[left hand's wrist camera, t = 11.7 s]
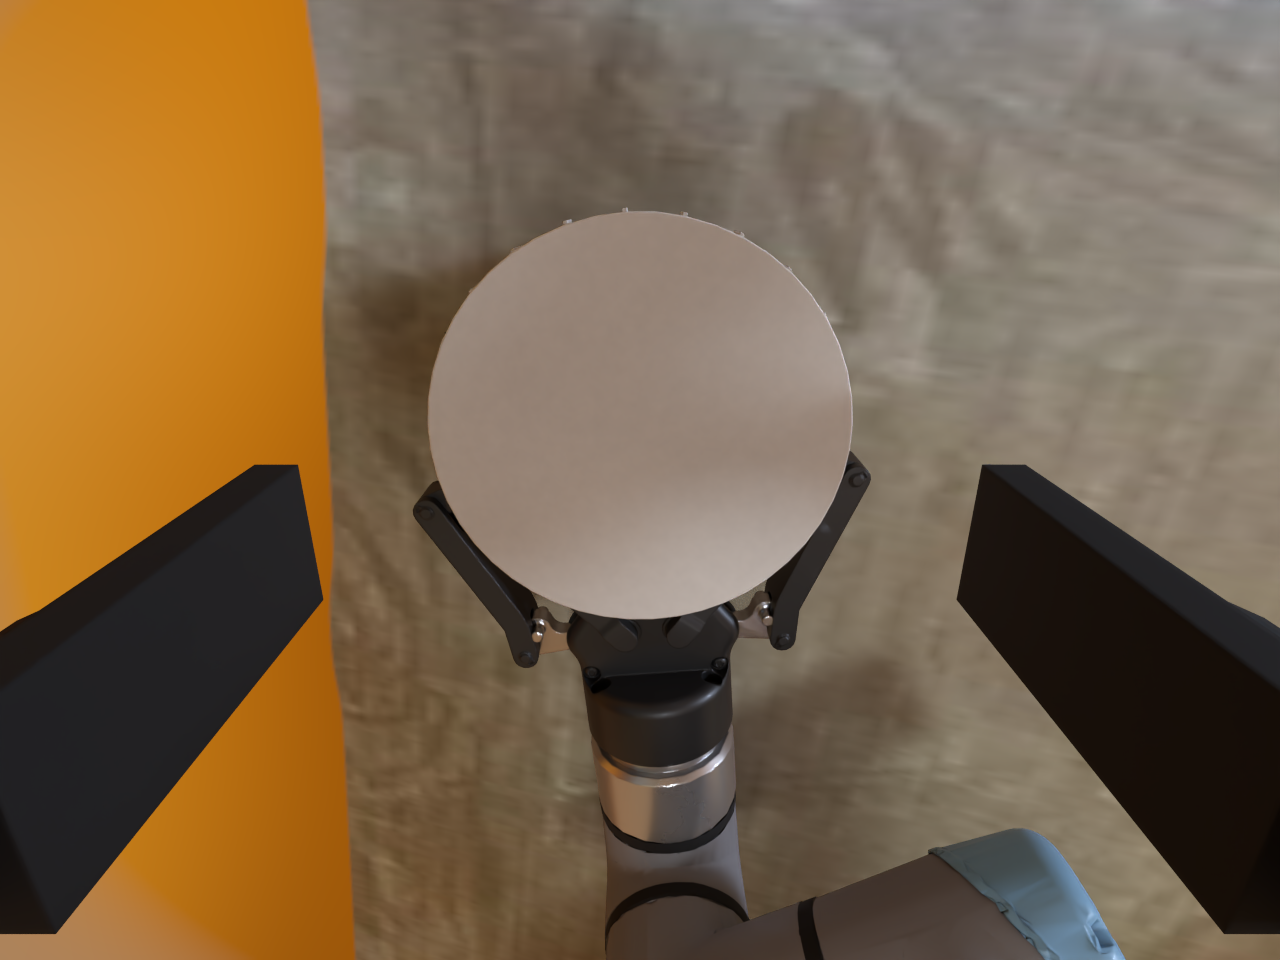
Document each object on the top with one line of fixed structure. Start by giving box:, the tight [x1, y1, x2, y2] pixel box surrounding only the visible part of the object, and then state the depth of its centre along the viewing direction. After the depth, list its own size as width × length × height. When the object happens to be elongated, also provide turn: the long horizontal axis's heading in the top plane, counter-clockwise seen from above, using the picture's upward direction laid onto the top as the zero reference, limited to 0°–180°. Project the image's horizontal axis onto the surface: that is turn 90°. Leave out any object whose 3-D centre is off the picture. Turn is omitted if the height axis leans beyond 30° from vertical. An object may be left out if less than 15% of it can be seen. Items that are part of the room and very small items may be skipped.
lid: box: [427, 208, 853, 619], centre depth 19 cm, size 11×11×2 cm
